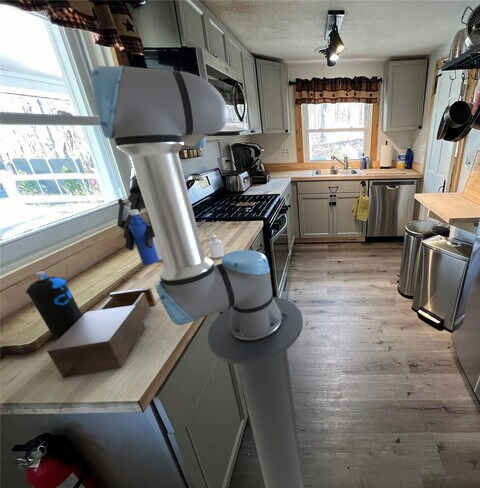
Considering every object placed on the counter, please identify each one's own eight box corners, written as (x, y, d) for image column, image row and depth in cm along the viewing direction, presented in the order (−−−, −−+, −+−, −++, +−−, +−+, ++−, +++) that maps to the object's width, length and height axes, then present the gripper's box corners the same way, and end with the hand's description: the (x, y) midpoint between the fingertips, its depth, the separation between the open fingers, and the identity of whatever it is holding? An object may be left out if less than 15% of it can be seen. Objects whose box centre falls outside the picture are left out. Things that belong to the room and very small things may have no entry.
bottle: (161, 257, 86) (145, 207, 79) (155, 263, 82) (138, 211, 75) (145, 259, 85) (128, 209, 79) (139, 265, 81) (120, 213, 74)
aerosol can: (45, 342, 75) (9, 283, 67) (60, 324, 82) (29, 269, 74) (80, 333, 78) (50, 276, 70) (91, 317, 85) (65, 263, 77)
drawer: (124, 302, 90) (117, 285, 88) (160, 297, 92) (155, 280, 90) (94, 338, 74) (84, 319, 72) (139, 331, 76) (131, 312, 74)
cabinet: (98, 335, 77) (86, 311, 73) (145, 328, 79) (136, 304, 75) (63, 378, 63) (46, 351, 60) (121, 367, 66) (108, 341, 62)
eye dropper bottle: (221, 258, 122) (216, 235, 117) (210, 258, 123) (204, 235, 118) (225, 254, 126) (220, 231, 121) (215, 254, 127) (209, 231, 122)
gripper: (177, 187, 91) (175, 248, 83) (121, 191, 88) (114, 255, 80) (168, 174, 84) (165, 239, 76) (107, 178, 81) (97, 246, 73)
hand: (139, 247), depth 78 cm, fingers closed on bottle, 5 cm apart
